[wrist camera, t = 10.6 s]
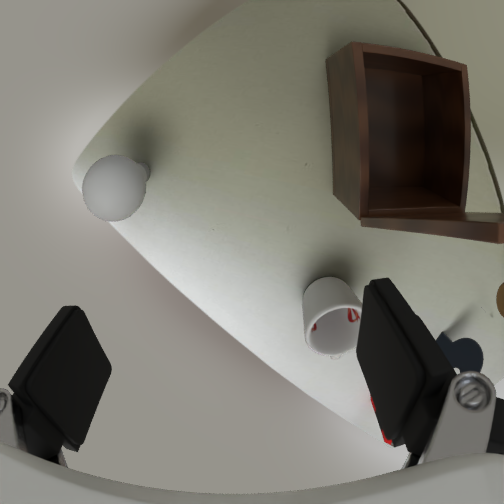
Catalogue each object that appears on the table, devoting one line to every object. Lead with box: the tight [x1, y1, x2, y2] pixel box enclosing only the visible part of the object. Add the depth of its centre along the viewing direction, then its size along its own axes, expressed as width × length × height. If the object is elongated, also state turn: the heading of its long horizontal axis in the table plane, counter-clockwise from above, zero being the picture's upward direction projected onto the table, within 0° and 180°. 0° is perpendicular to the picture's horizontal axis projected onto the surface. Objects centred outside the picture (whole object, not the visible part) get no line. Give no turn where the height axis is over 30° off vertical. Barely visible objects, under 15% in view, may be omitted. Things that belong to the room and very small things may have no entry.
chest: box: [326, 42, 471, 220], centre depth 25 cm, size 16×13×9 cm
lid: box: [361, 212, 504, 317], centre depth 16 cm, size 17×13×5 cm
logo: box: [436, 308, 486, 373], centre depth 40 cm, size 17×18×11 cm
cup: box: [302, 277, 362, 359], centre depth 36 cm, size 11×8×8 cm
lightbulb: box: [82, 155, 150, 221], centre depth 26 cm, size 6×6×11 cm
